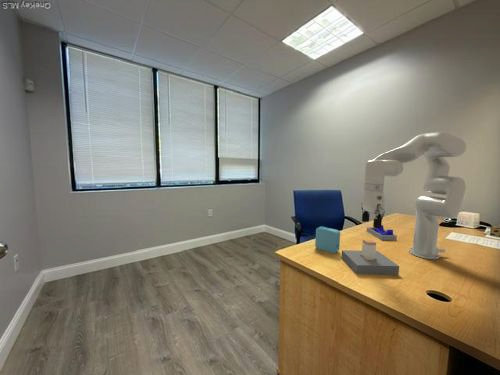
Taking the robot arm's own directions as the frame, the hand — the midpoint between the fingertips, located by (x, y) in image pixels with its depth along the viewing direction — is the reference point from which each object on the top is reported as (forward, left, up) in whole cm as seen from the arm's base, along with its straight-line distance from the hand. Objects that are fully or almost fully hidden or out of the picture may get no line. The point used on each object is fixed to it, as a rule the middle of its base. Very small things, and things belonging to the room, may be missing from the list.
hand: (370, 224), depth 97 cm
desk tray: (-32, -44, -20) cm, 58 cm away
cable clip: (-34, -44, -20) cm, 59 cm away
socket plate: (0, 0, -20) cm, 20 cm away
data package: (+13, -18, -20) cm, 30 cm away
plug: (0, 0, -20) cm, 20 cm away
